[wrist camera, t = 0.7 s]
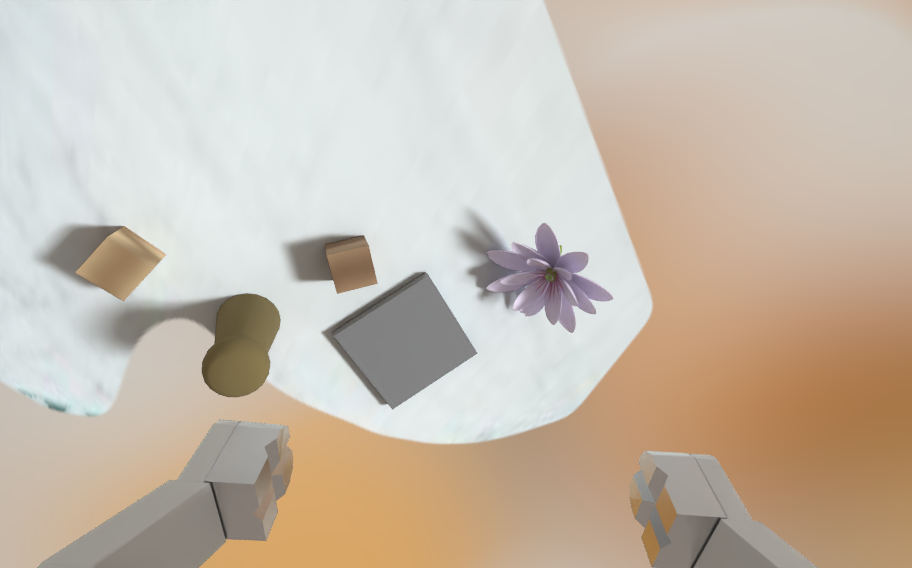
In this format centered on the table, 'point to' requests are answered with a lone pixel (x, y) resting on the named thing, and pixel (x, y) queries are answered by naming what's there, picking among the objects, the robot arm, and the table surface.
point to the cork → (241, 345)
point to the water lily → (547, 279)
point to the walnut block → (350, 264)
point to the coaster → (406, 341)
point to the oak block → (121, 263)
